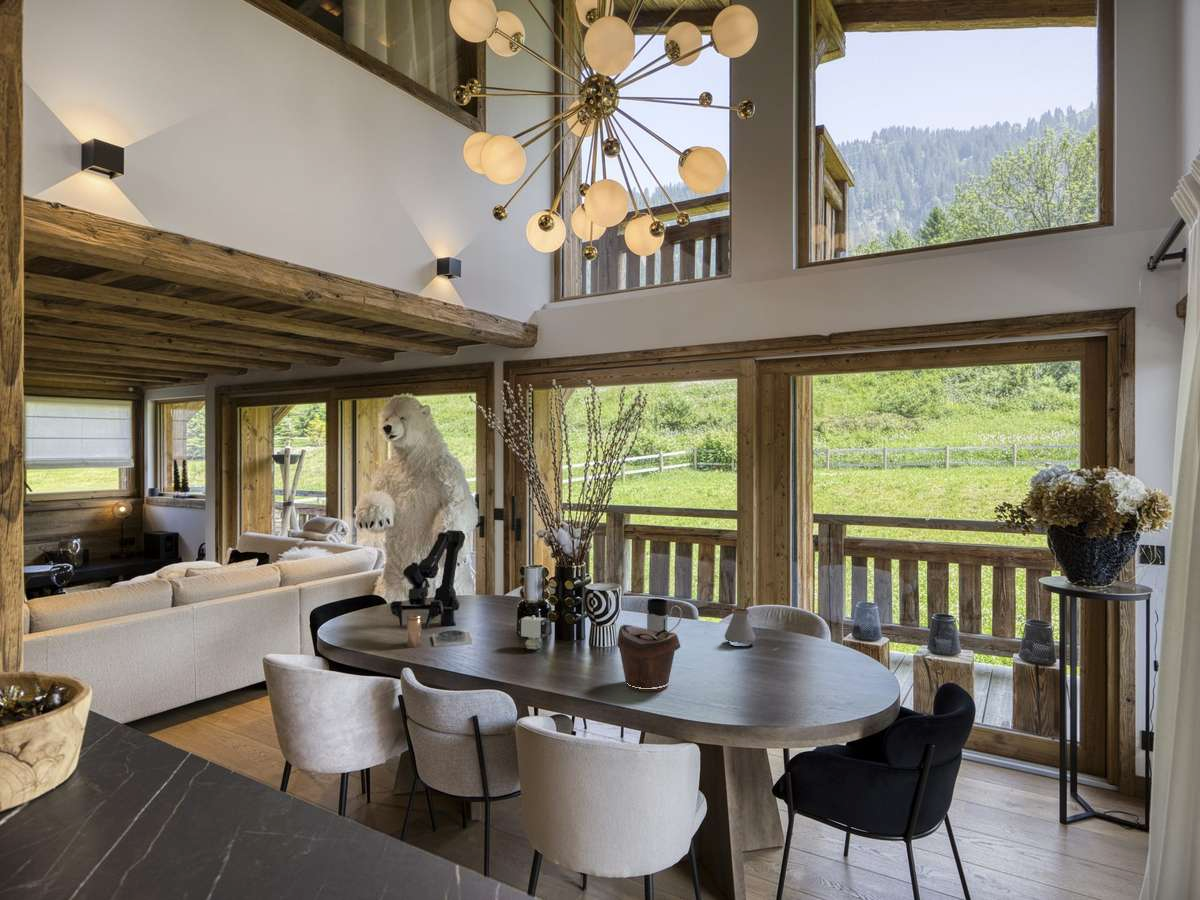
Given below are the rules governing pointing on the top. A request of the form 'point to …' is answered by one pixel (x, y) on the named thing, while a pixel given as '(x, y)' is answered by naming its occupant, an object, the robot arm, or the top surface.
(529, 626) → the pneumatic valve
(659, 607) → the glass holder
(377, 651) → the top surface
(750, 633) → the coffee pot
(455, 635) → the duct collar plate
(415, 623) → the copper cylindrical jar
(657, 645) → the brown flower pot
